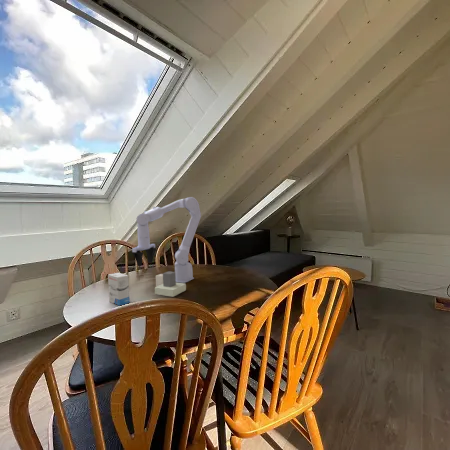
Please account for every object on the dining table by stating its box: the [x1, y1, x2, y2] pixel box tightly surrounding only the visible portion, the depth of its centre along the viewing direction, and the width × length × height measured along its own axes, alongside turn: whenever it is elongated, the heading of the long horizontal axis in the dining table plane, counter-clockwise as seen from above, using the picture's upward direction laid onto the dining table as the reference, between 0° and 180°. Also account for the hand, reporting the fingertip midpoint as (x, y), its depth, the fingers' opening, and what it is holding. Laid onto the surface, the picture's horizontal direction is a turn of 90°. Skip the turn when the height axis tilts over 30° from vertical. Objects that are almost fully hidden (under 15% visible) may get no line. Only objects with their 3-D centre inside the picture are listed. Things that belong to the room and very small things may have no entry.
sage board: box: [154, 282, 187, 297], centre depth 130 cm, size 10×10×3 cm
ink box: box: [107, 272, 131, 307], centre depth 118 cm, size 8×5×12 cm, turn 48°
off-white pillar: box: [155, 273, 163, 287], centre depth 138 cm, size 4×4×6 cm
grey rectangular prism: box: [162, 270, 177, 287], centre depth 130 cm, size 4×4×6 cm
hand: (145, 264), depth 143 cm, fingers open, 7 cm apart
